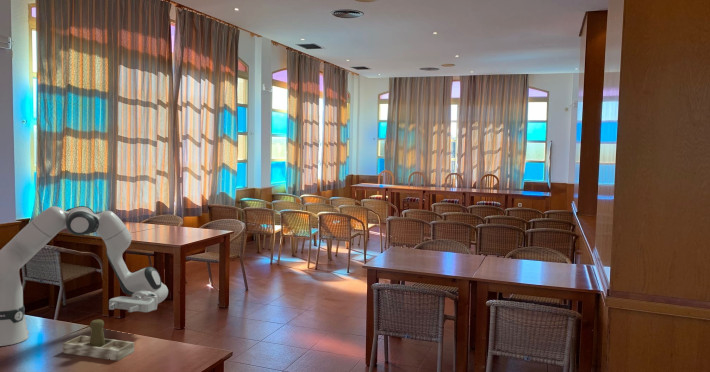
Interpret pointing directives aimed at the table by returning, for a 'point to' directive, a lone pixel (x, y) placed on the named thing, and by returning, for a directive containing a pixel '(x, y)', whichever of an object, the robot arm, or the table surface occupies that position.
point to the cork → (97, 333)
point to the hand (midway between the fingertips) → (119, 309)
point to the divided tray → (99, 348)
